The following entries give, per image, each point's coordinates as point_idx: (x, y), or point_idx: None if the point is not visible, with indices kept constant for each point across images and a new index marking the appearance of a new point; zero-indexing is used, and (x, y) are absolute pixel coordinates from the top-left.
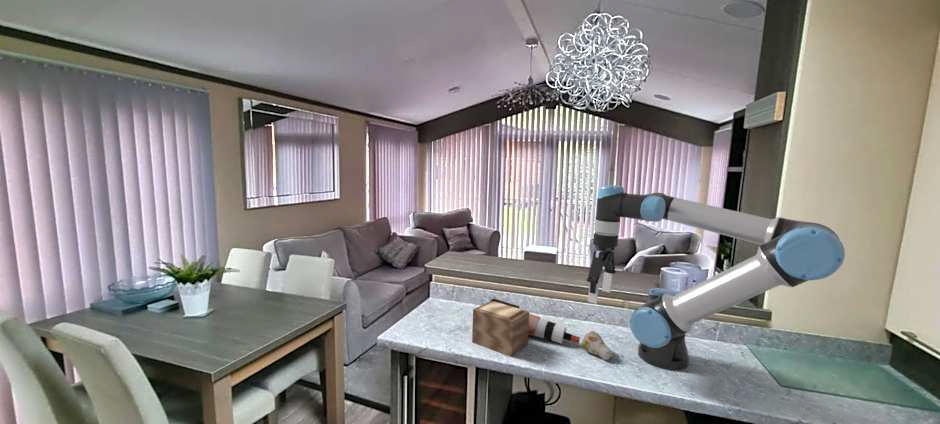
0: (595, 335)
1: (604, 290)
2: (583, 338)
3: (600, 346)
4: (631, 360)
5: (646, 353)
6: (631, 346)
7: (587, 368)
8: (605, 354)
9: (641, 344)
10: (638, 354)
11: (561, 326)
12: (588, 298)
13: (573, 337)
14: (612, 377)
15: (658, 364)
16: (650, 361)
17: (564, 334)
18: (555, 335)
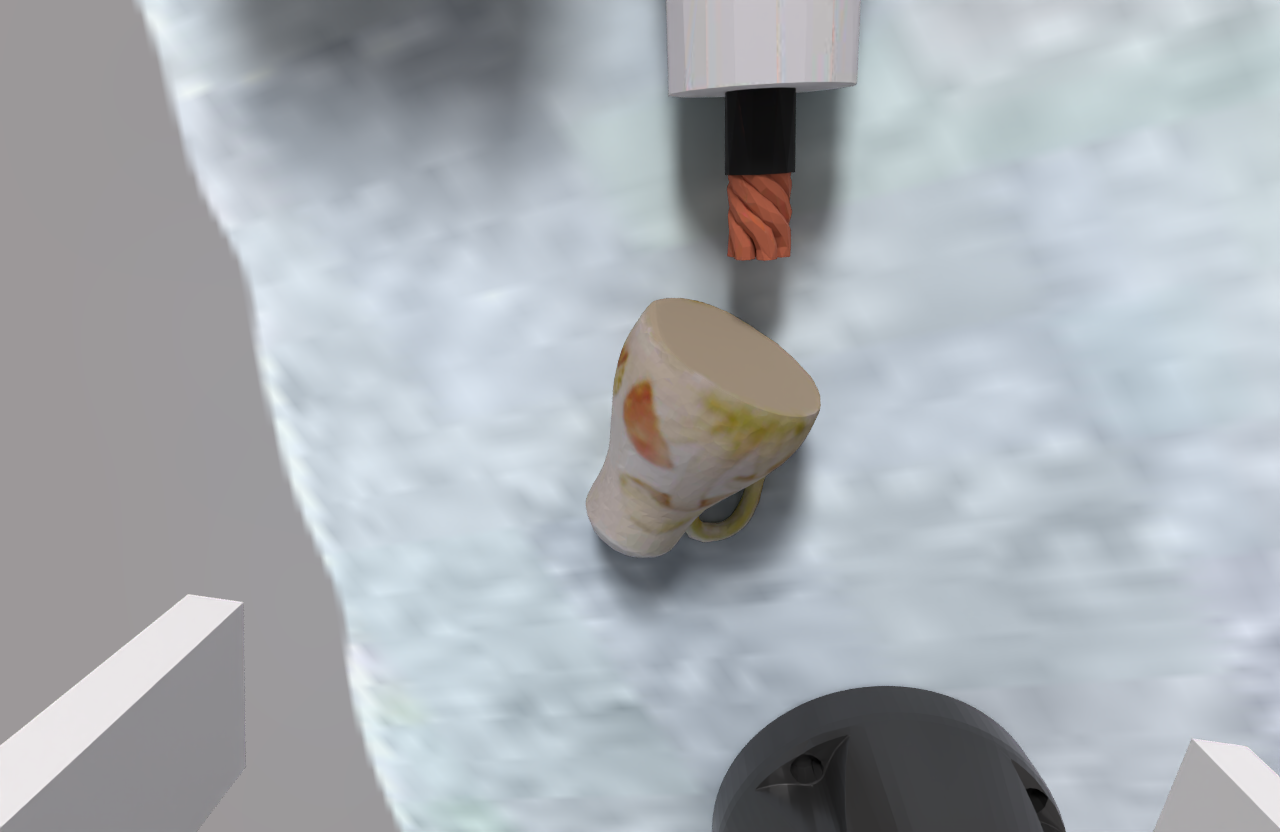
0: (685, 446)
1: (1186, 808)
2: (650, 326)
3: (622, 485)
4: (724, 654)
5: (770, 781)
6: (974, 634)
7: (415, 401)
8: (589, 517)
9: (853, 767)
10: (834, 694)
11: (768, 30)
12: (134, 647)
13: (743, 200)
14: (399, 572)
15: (715, 823)
16: (731, 779)
17: (736, 98)
18: (667, 11)
